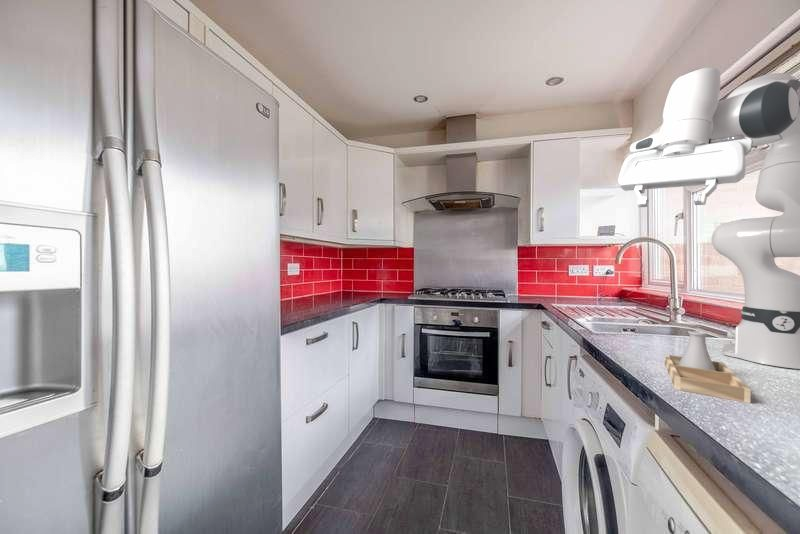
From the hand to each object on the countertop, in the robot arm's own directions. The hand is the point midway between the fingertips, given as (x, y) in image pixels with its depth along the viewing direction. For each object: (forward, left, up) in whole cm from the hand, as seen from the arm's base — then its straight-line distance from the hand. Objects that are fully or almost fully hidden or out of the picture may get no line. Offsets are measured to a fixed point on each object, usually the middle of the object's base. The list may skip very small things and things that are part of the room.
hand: (669, 205), depth 67 cm
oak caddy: (-9, +7, -38) cm, 40 cm away
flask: (-13, +7, -38) cm, 41 cm away
